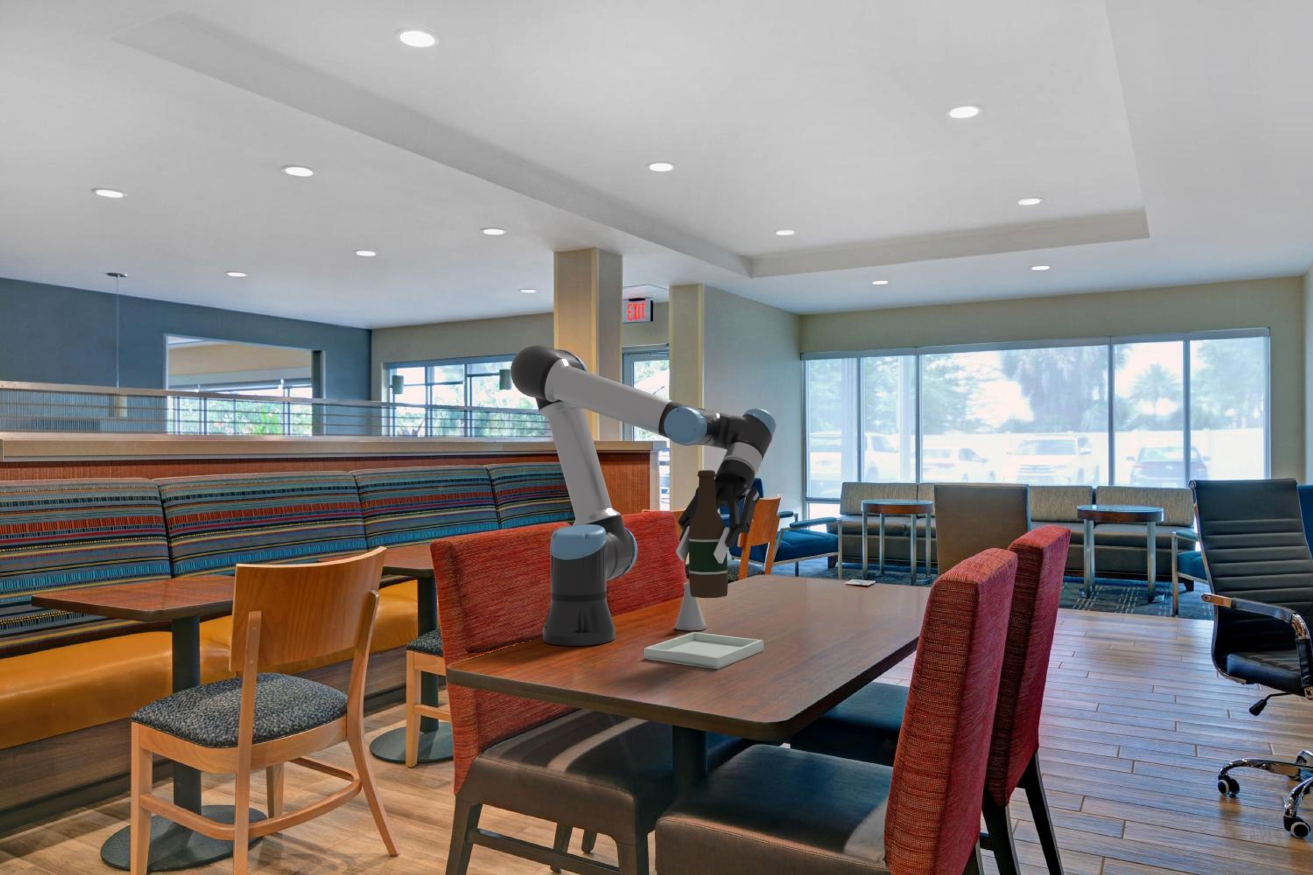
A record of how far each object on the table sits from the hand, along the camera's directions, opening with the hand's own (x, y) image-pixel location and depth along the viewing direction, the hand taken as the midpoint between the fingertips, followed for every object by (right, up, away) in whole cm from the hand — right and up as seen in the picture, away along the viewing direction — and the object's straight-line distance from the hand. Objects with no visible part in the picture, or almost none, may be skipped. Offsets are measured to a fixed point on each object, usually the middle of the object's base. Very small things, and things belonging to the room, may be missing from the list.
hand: (698, 557), depth 169 cm
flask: (0, -20, +29) cm, 35 cm away
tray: (+1, -19, +3) cm, 19 cm away
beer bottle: (+2, -8, +3) cm, 8 cm away
